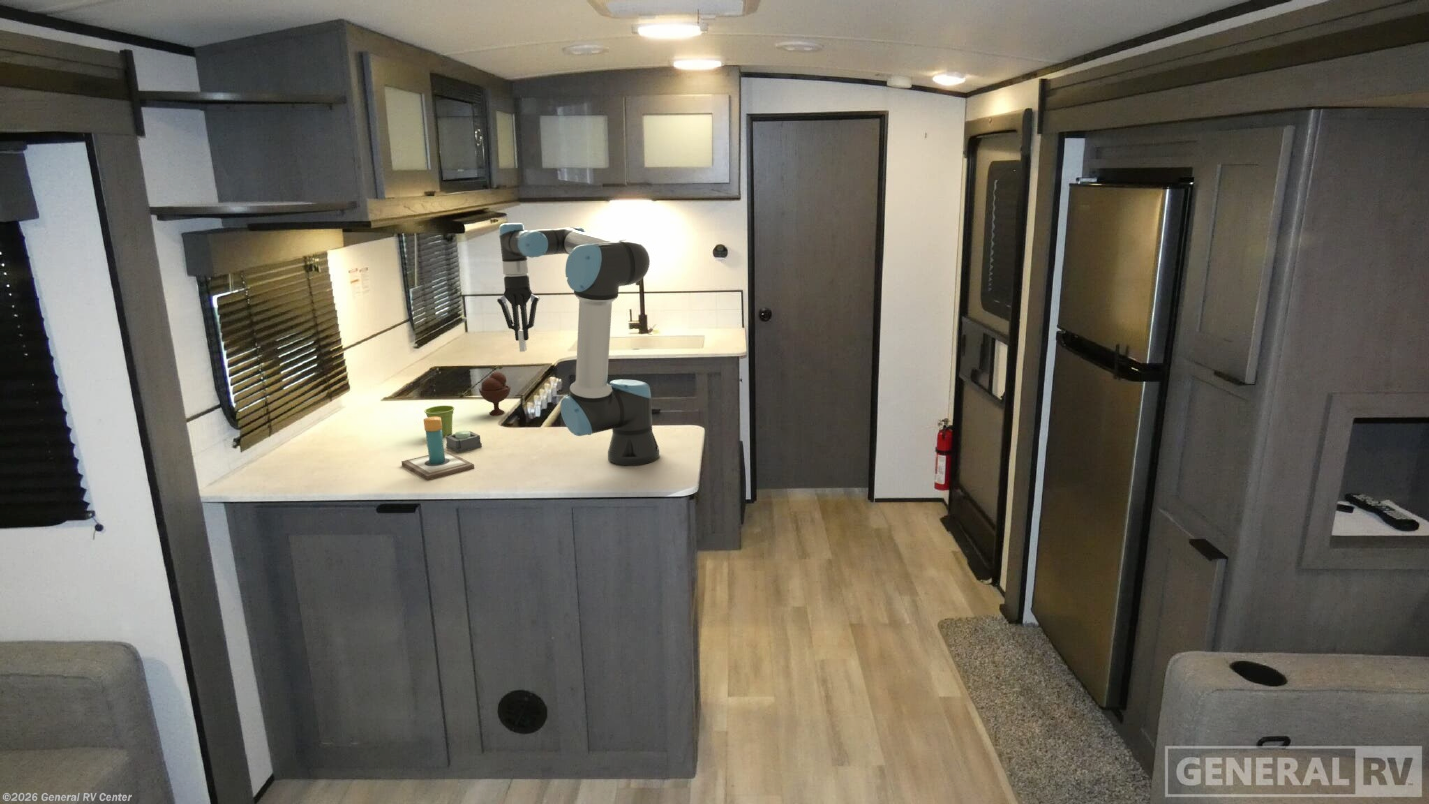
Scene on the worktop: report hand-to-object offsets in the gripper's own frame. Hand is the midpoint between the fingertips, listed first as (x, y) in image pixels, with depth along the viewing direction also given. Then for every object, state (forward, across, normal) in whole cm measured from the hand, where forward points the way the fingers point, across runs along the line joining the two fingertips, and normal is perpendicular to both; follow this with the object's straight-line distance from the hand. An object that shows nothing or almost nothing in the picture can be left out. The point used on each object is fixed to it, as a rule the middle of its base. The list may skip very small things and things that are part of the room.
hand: (523, 350), depth 266 cm
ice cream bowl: (+28, +20, -30) cm, 46 cm away
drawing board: (+29, +21, +27) cm, 44 cm away
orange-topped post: (+27, +21, +27) cm, 43 cm away
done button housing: (+28, +19, +8) cm, 35 cm away
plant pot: (+28, +31, -6) cm, 42 cm away
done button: (+27, +19, +8) cm, 34 cm away
